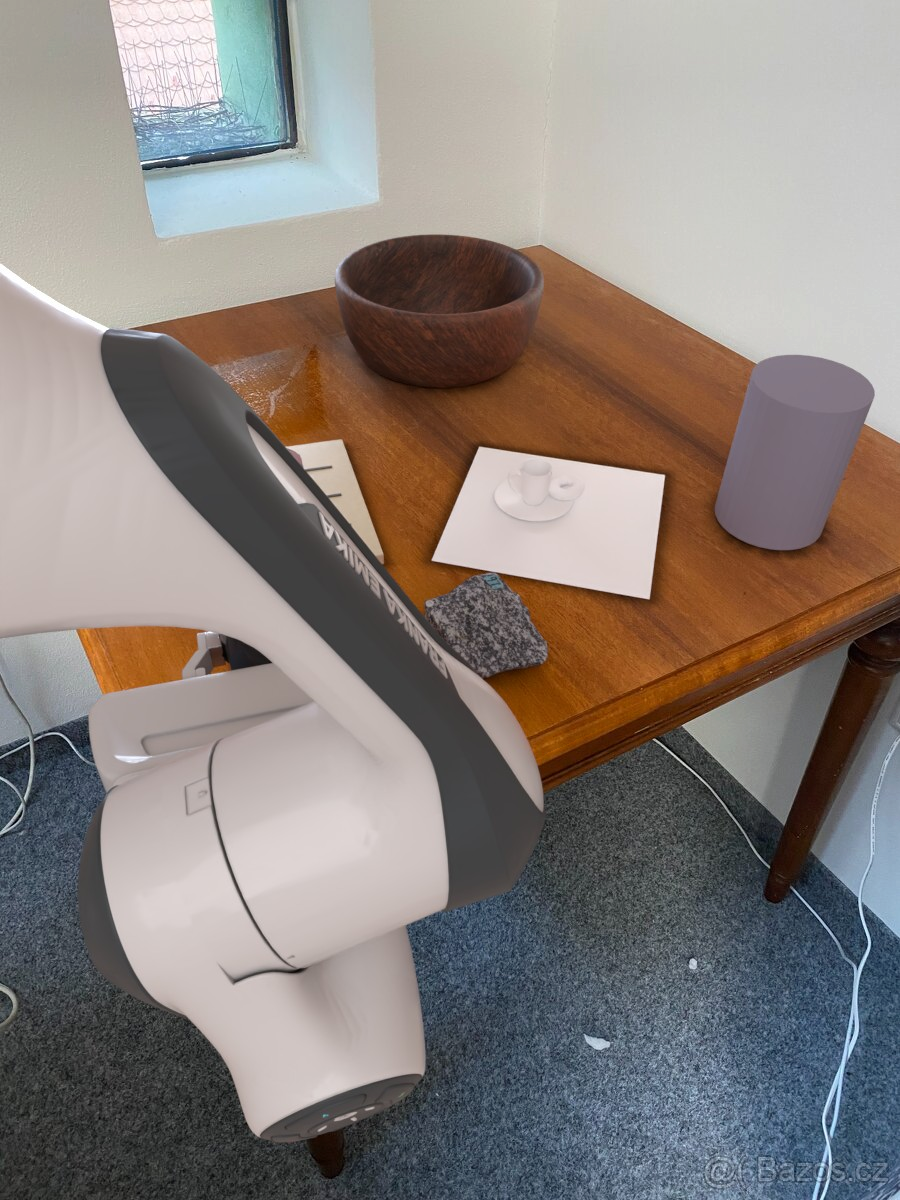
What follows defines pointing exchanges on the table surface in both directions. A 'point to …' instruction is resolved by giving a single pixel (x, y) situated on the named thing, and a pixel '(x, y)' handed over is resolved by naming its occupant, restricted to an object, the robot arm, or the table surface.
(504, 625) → the rock
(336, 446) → the board
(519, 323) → the wooden bowl
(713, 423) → the table surface
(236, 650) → the dome-topped canister
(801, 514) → the container
